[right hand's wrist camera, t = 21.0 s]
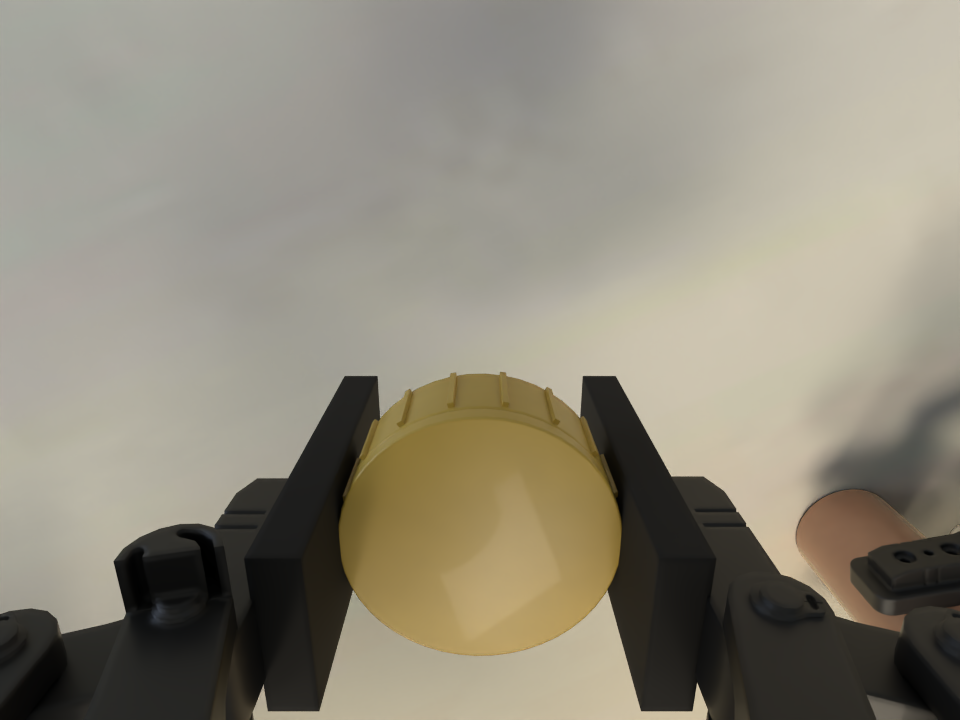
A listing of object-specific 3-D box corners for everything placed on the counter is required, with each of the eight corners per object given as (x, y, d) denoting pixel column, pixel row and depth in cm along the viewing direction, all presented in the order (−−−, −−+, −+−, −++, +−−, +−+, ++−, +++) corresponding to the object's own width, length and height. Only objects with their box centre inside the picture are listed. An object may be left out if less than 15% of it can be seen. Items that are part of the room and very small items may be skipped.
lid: (368, 348, 11) (348, 389, 9) (633, 390, 12) (662, 438, 10) (343, 568, 13) (321, 639, 11) (575, 600, 13) (590, 674, 11)
